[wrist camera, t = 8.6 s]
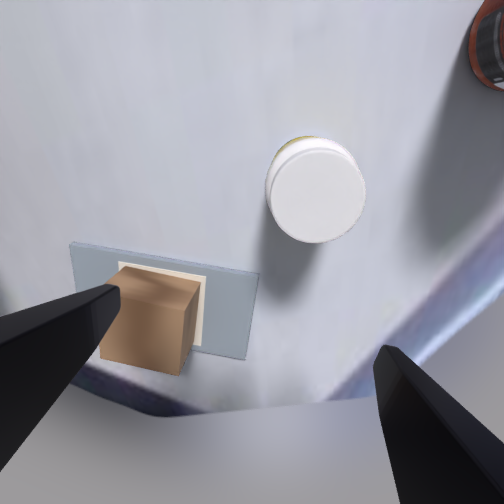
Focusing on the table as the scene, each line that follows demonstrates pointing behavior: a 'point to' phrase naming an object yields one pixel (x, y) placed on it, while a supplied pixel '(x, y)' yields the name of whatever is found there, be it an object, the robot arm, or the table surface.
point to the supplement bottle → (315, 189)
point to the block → (152, 321)
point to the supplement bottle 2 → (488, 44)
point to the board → (212, 278)
